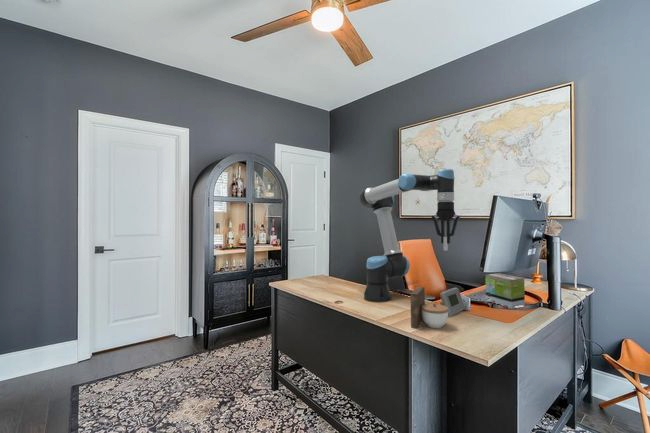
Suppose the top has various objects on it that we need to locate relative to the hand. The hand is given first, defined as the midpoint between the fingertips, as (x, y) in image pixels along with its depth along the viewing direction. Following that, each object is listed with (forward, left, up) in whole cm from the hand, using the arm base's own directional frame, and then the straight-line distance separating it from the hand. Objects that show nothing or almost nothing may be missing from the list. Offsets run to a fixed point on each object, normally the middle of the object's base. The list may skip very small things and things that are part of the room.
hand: (445, 250), depth 150 cm
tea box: (+25, +25, -30) cm, 46 cm away
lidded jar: (-1, -24, -30) cm, 38 cm away
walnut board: (-8, -23, -29) cm, 38 cm away
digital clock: (+3, -1, -30) cm, 30 cm away
